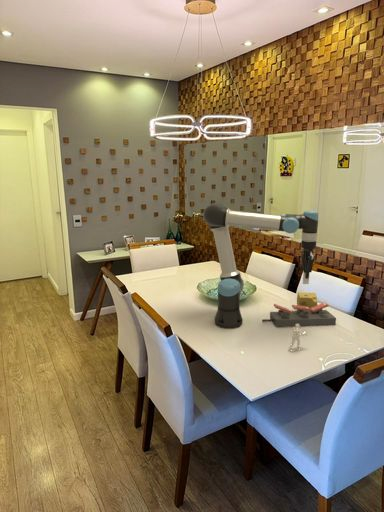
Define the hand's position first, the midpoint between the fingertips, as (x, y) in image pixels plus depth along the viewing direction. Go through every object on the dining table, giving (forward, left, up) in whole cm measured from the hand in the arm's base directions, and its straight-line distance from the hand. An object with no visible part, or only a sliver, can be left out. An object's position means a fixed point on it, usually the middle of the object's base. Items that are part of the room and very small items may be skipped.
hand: (305, 283), depth 190 cm
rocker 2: (-2, 0, -14) cm, 15 cm away
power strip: (-5, -2, -21) cm, 22 cm away
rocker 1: (-12, 0, -14) cm, 19 cm away
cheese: (+7, +13, -21) cm, 26 cm away
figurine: (-15, -32, -21) cm, 41 cm away
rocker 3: (+9, 0, -14) cm, 17 cm away
